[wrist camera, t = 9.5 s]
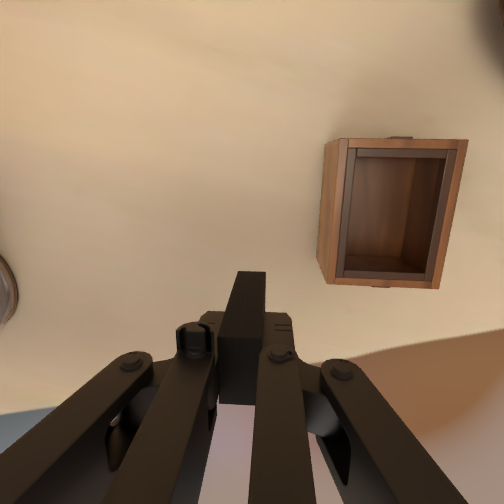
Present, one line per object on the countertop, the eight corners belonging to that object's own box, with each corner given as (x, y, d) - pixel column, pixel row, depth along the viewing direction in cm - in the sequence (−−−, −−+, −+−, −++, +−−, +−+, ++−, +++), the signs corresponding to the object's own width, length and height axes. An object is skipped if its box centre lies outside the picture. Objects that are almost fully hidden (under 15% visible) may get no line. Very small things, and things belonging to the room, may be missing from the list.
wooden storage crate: (326, 286, 32) (438, 291, 31) (339, 135, 28) (469, 137, 27) (316, 259, 40) (403, 263, 39) (325, 142, 36) (422, 143, 35)
